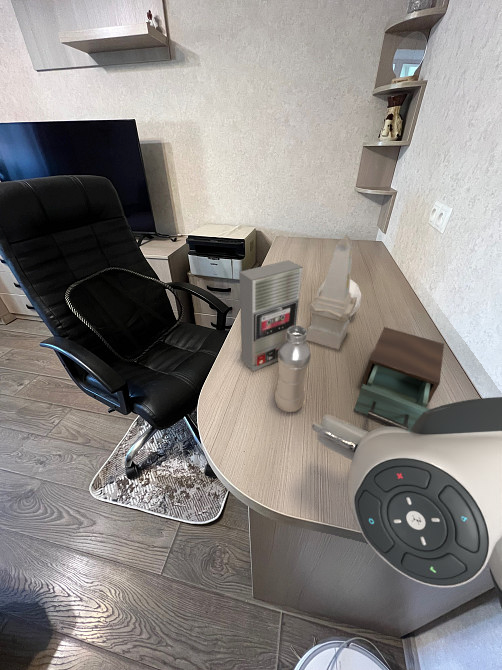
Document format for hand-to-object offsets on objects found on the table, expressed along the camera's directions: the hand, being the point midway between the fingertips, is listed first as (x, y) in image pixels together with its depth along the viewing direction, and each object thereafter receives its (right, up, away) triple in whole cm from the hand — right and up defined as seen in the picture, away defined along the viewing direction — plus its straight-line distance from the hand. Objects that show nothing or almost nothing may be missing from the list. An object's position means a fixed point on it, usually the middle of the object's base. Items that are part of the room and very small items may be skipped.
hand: (388, 451), depth 43 cm
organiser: (+15, +7, +25) cm, 30 cm away
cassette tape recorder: (-17, +12, +32) cm, 38 cm away
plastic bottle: (-13, +2, +19) cm, 23 cm away
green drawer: (+9, +3, +17) cm, 19 cm away
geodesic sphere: (+7, +25, +50) cm, 56 cm away
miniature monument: (+1, +18, +40) cm, 44 cm away
